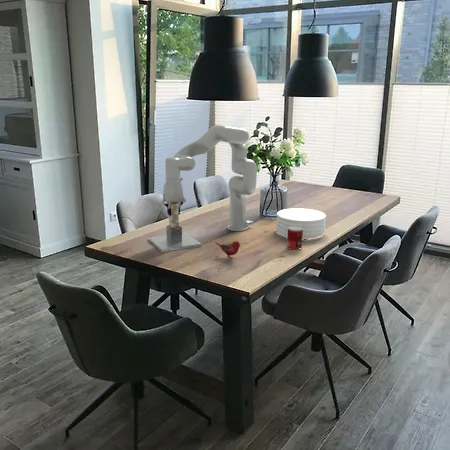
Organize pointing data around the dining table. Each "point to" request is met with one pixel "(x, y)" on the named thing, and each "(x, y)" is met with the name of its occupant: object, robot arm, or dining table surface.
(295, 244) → the canned food
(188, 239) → the metal stand
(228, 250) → the decorative bird figurine
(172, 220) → the ash post
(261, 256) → the dining table surface
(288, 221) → the plate stack
